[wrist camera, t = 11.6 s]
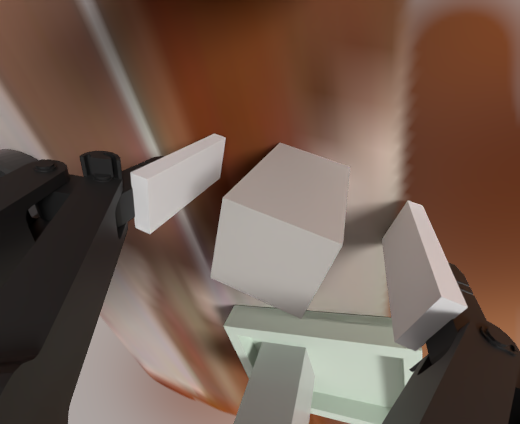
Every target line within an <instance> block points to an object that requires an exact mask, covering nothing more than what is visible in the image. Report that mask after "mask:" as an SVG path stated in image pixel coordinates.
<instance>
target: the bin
mask: <svg viewBox="0 0 520 424" xmlns="http://www.w3.org/2000/svg"><path fill="white" fill-rule="evenodd" d="M224 328H225V330H226V332H227V334H228V336H229V339H230V341H231V343H232V345H233V347H234V349H235V351H236V353H237V355H238V357H239V359H240V361H241V363H242V365H243V367H244V369H245V371H246V373H247V375H248V377H249V379H250V376H251V373H252V370H253V367H254V364H255V362H256V359H257V356H258V353H259V350H260V347H261V344H262V342H269V343H276V344H283V345H291V346H298V347H305V348H306V349H307V352H308V355H309V358H310V362H311V365H312V368H313V371H314V374H315V382H314V389H313V396H312V403H311V411H310V413H312V414H316V415H319V416H323V417H327V418H331V419H335V420H339V421H343V422H347V423H351V424H382V423H383V421H384V419H385V418H386V416H387V415H388V413H389V411H390V410H391V408H392V407H393V405H394V403H395V402H396V400H397V398H398V397H399V395H400V394H401V392H402V390H403V389H404V387H405V386H406V384H407V382H408V381H409V379H410V377H411V376H412V374H413V373H414V372H411V371H410V370H409V369H411V368H412V367H413V366H414V365H416V364H417V363H418V362H419V361H421V360H422V348H419V349H418V350H417V351H413V350H411V349H409V348H407V347H404V346H402V345H400V344H397V343H395V342H394V334H393V326H392V318H389V317H376V316H364V315H352V314H339V313H327V312H314V311H306V312H305V313H304V315H303V317H302V319H300V318H298V317H296V316H293V315H291V314H289V313H287V312H285V311H282V310H280V309H277V308H265V307H252V306H240V305H234V307H233V309H232V310H231V312H230V314H229V316H228V318H227V320H226V322H225V324H224Z"/></svg>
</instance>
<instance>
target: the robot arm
mask: <svg viewBox="0 0 520 424" xmlns="http://www.w3.org/2000/svg"><path fill="white" fill-rule="evenodd" d="M225 139H226V137H223V136H220V135H217V134H212V135H210V136H208V137H206V138H204V139H201V140H199V141H197V142H195V143H193V144H191V145H189V146H186V147H184V148H182V149H180V150H178V151H176V152H173V153H171V154H169V155H167V156H165V157H164V156H160V157H154V158H151V159H149V160H146V161H145V162H142V163H140V164H138V165H135V166H133V167H130V168H128V169H126V170H124V171H122V170H121V161H120V157H119V156H118V155H117V154H114V153H112V152H107V151H92V152H87V153H84V154H82V155H81V156H80V161H81V165H82V170H83V175H84V176H83V177H81V176H75V175H70V174H69V173H68V169H67V165H66V164H64V163H63V162H60V161H55V160H39V161H38V160H36V159H34V158H32V157H31V156H29V155H26V154H24V153H21V152H18V151H15V150H9V149H2V150H0V424H68V411H69V406H70V402H71V399H72V396H73V393H74V390H75V386H76V383H77V381H78V377H79V374H80V371H81V369H82V365H83V363H84V360H85V357H86V354H87V351H88V348H89V345H90V342H91V339H92V336H93V333H94V329H95V327H96V324H97V321H98V318H99V315H100V312H101V309H102V306H103V303H104V300H105V297H106V294H107V291H108V288H109V285H110V282H111V279H112V276H113V273H114V270H115V267H116V264H117V261H118V258H119V254H120V251H121V248H122V245H123V242H124V239H125V236H126V233H127V230H128V223H127V222H128V221H130V220H131V219H133V218H135V228H137V229H139V230H141V231H144V232H146V233H148V234H151V233H152V232H154V231H155V230H156V229H157V228H159V227H160V226H161V225H162V224H164V223H165V222H166V221H167V220H169V219H170V218H171V217H172V216H174V215H175V214H176V213H177V212H179V211H180V210H181V209H182V208H184V207H185V206H186V205H187V204H189V203H190V202H191V201H192V200H194V199H195V198H196V197H197V196H198V195H200V194H201V193H202V192H203V191H205V190H206V189H207V188H208V187H210V186H211V185H212V184H213V183H215V182H216V181H217V180H218V179H220V175H221V168H222V161H223V154H224V146H225ZM382 245H383V254H384V262H385V270H386V278H387V286H388V294H389V302H390V310H391V318H392V326H393V334H394V342H395V343H397V344H400V345H402V346H404V347H407V348H409V349H411V350H413V351H417V350H418V349H419V348H421V347H422V346H423V345H424V344H425V343H426V345H427V349H428V353H429V354H428V355H427V356H426V357H424V358H423V359H422V360H421V361H419V362H418V363H417V364H416V365H414V366H413V367H412V368H411V369H409V370H410V371H411V372H414V373H413V374H412V376H411V377H410V379H409V381H408V382H407V384H406V386H405V387H404V389H403V390H402V392H401V394H400V395H399V397H398V398H397V400H396V402H395V403H394V405H393V407H392V408H391V410H390V411H389V413H388V415H387V416H386V418H385V419H384V421H383V423H382V424H520V351H519V349H518V348H517V346H516V344H515V343H514V342H513V341H512V339H511V338H510V337H509V336H508V335H507V334H506V333H504V332H503V331H502V330H501V329H500V328H498V327H497V326H495V325H493V324H492V323H490V322H488V321H486V318H485V317H484V314H483V312H482V310H481V308H480V306H479V304H478V302H477V300H476V298H475V296H473V292H472V290H471V288H470V287H469V284H468V282H467V280H466V278H465V276H464V275H463V274H462V273H461V271H459V269H458V268H457V267H456V266H455V265H453V264H451V263H448V262H447V259H446V257H445V255H444V253H443V250H442V248H441V246H440V244H439V242H438V239H437V237H436V235H435V232H434V230H433V228H432V226H431V223H430V222H429V219H428V217H427V214H426V212H425V210H424V208H423V206H422V205H419V204H416V203H413V202H411V201H407V202H406V204H405V205H404V207H403V208H402V210H401V211H400V213H399V214H398V216H397V217H396V219H395V220H394V222H393V223H392V225H391V226H390V228H389V229H388V231H387V232H386V234H385V235H384V237H383V238H382Z"/></svg>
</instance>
